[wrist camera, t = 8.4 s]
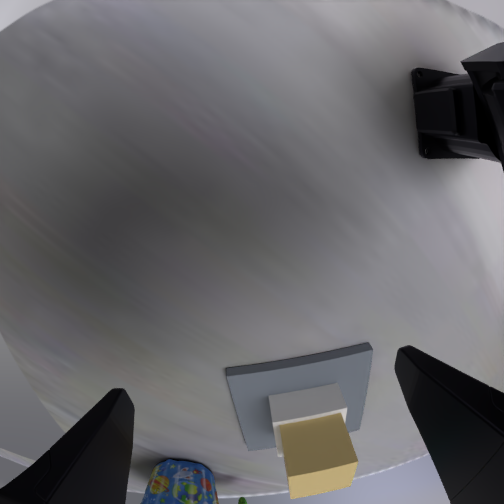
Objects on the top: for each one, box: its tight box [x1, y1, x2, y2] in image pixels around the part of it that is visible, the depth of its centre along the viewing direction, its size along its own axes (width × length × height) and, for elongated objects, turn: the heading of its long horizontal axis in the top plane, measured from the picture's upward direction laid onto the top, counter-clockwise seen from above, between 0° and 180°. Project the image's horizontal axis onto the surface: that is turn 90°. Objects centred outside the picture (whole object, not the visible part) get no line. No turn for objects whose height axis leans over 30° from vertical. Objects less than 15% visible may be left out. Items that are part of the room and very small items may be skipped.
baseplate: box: [227, 343, 373, 451], centre depth 25 cm, size 12×12×1 cm
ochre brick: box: [279, 413, 358, 499], centre depth 20 cm, size 5×5×5 cm
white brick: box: [269, 383, 347, 457], centre depth 23 cm, size 6×6×3 cm
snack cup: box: [141, 459, 247, 504], centre depth 25 cm, size 16×10×10 cm
